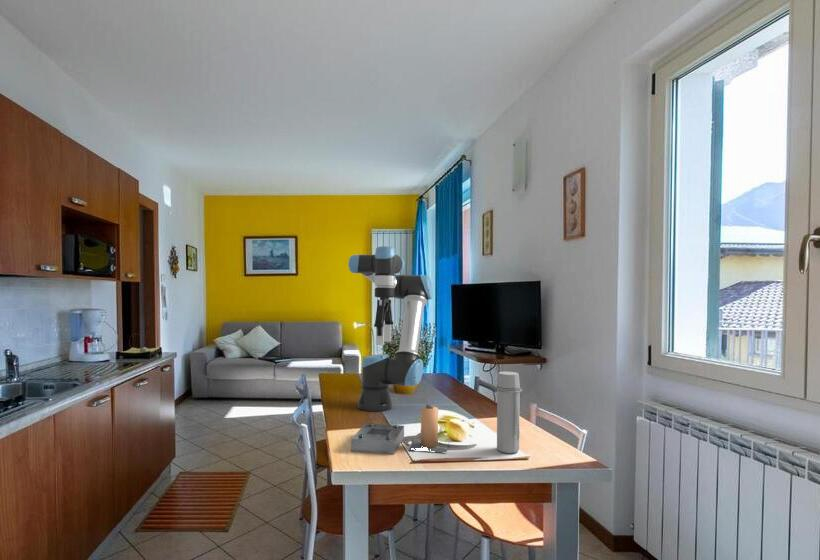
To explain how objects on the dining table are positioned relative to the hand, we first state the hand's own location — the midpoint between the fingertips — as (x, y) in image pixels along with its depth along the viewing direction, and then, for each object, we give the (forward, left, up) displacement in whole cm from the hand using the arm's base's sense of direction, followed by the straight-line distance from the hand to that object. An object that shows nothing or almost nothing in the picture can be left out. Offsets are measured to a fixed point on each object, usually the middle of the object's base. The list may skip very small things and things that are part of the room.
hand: (383, 343), depth 174 cm
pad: (+18, +20, -32) cm, 42 cm away
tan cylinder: (+18, +20, -31) cm, 41 cm away
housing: (+19, +3, -32) cm, 37 cm away
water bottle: (+18, +46, -32) cm, 59 cm away
